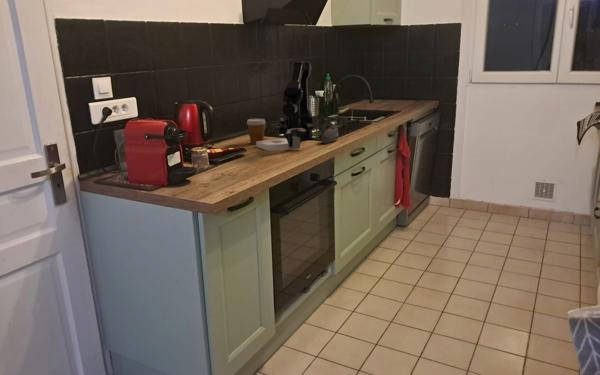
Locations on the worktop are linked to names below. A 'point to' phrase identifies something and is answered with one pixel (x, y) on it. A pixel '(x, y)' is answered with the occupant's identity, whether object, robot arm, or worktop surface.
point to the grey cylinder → (295, 143)
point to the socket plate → (273, 144)
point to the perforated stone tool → (330, 135)
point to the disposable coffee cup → (256, 129)
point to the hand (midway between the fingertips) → (294, 146)
